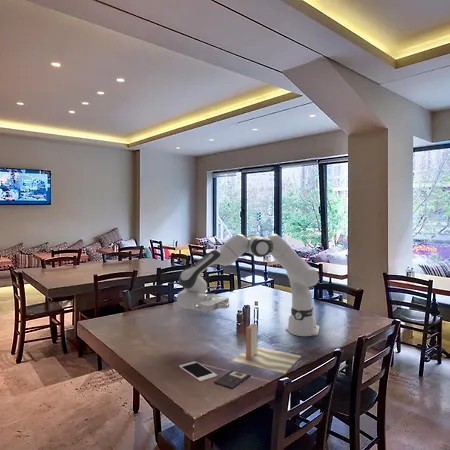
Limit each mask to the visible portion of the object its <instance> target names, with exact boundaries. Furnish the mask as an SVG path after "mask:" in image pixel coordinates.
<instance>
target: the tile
mask: <svg viewBox="0 0 450 450" xmlns="http://www.w3.org/2000/svg"><path fill="white" fill-rule="evenodd" d="M258 327H259V326H258V324H255V323H251V324H250V325H248V326H247V327H245V328H246V329H245V334H246V335H245V350H246V357H249V358H251V357H253V356H254V355H255V354H257V347H258Z"/></svg>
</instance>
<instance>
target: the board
mask: <svg viewBox="0 0 450 450" xmlns="http://www.w3.org/2000/svg"><path fill="white" fill-rule="evenodd" d="M301 358H302V355H299V354H294V353H289V352H285V351H280V350H274V349H269V348H266V347H260V346H259V347H258V346H257V354H255V355H254V356H253V357H251V358H249V357H246V349H245V350H244V351H243V352H242V353H240V354H239V355H237V356H235V358H233V359H232V360H231V362H235V363H239V364H244V365H247V366H250V367H251V366H252V367H255V368H256V367H257V368H260V369H265V370H270V371H272V372H273V371H274V372H276V373H277V372H278V373H282V375H284V376H285V375H287V373H288V372H290V370H291V369H292V367H294V366H295V365H296V364H297V362H298V361H299V360H300V359H301Z"/></svg>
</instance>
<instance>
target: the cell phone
mask: <svg viewBox="0 0 450 450" xmlns="http://www.w3.org/2000/svg"><path fill="white" fill-rule="evenodd" d="M178 368H180V369H181V370H183V371H184V372H185V373H187V375H189V376H191V377H192V378H194V379H195V380H197V381H198V382H200V383H201V382H204V381H208V380H211V379H214V378H217V377H218V374H217V373H215V372H214V371H212V370H211V369H209V368H207V367H206V366H204V365H203V364H201V363H199V362H198V361H194V360H193V361H191V362H186V363H184V364H180V365H179V367H178Z"/></svg>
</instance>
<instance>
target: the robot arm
mask: <svg viewBox="0 0 450 450" xmlns="http://www.w3.org/2000/svg"><path fill="white" fill-rule="evenodd" d="M245 253H249V254H250V255H251V256H254V257H257V258H264V257H266V256H267V255H269V254H270V255H271V256H272V257H273V259H275V260H276V262H277V263H278V265H280V266H281V267H282V268H283V269H284V270H285V271H286V275H287V277H288V281H289V284H290V289H291V307H290V308H291V310H290V313H291V314H290V315H289V316H288V322H287V324H288V325H287V327H285V331H288V333H289V334H291V335H293V336H298V337H299V336H300V337H310V336H311V337H312V336H318V335H319V331H320V326H319V325H317V324H316V323H317V321H316V317H315V316H314V313H313V312H314V307H313V306H312V304H313V302H312V301H313V295H312V292H311V290H310V288H309V287H314V286H316V285H317V284H318V283H319V281H320V275H319V272H318V271H317V270H316V269H314V268H313V267H312V266H311V265H310V264H309V263H308V262H307V261H306V260H304V258H302V257H301V256H300V255H298V253H297V252H296V251H295V250H294V249H293V248H292V247H291V246H290V244H288V243H287V241H286V240H285V239H284V238H282V237H281V235H278V234H277V233H273V234H269V235H268V236H267V237H266V238H265V237H263V236H260V235H256V234H251V235H247V236H245V235H244V234H242V233H236V234H235V235H232V237H230V238H229V239H227V240H226V241H225V242H224V243H223V244H222V245H221V246H220V247H218V248H217V249H213V250H210V251H209V252H208V253H207V254H205V255H203V256H202V257H201V258H200V259H199V260H197V261H196V262H195V263H193V264H192V265H190V266H189V267H187V268H185V269H183V270H182V271H181V272H180V274H179V278H178V282H179V285H180V286H181V287H183V289H182V290H181V291H179V292H178V293H177V295H176V302H177V304H178V305H179V306H180V307H181V308H184V309H187V310H188V309H189V310H195V311H199V312H202V313H212V312H213V311H216V310H218V309H228V308H230V303H229V302H230V301H229V300H230V299H229V297H228V296H223V295H218V294H216V293H206V291H207V288H208V283H207V281H206V280H205V279H204V278H203V277H202V276H200V275H201V274H202V273H203V272H205V271H206V270H207V269H209V267H211V266H213V265H220V266H225V267H226V266H231V265H233V263H235V262H236V261H237V260H238V259H239V258H240V257H241V256H242V255H243V254H245Z"/></svg>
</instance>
